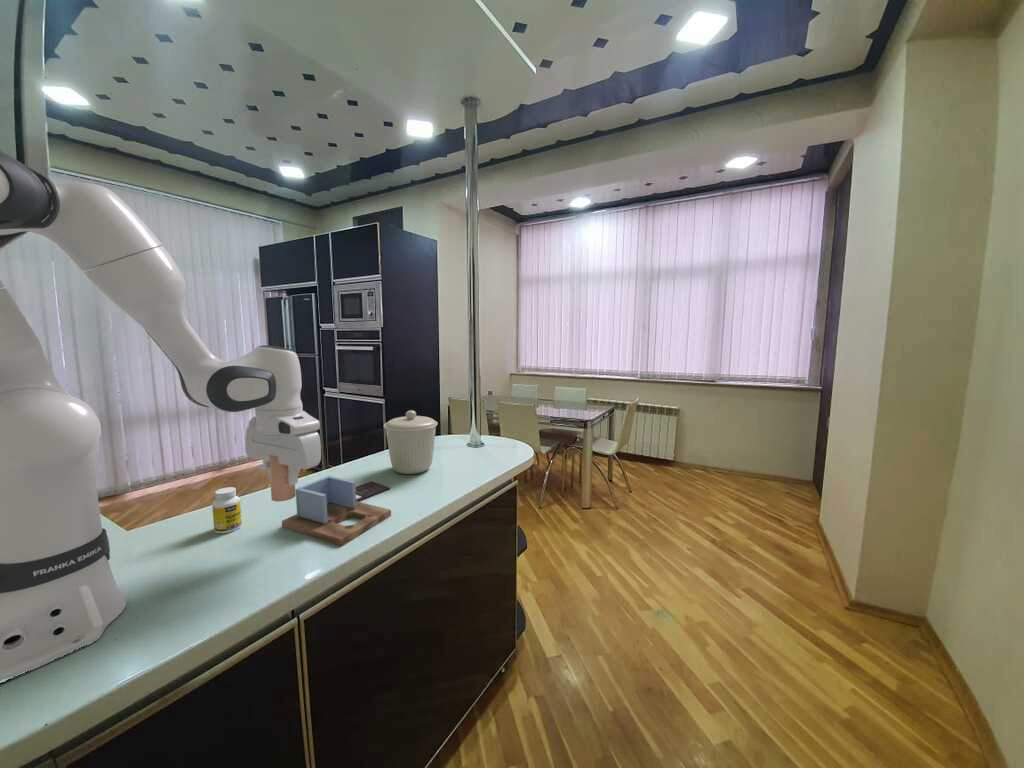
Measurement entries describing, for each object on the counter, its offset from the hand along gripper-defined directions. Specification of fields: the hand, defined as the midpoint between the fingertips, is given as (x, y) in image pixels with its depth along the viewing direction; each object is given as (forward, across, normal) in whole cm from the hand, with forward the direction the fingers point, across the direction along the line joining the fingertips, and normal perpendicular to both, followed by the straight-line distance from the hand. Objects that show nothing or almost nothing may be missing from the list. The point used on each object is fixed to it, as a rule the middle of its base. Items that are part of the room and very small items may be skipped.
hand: (282, 481), depth 85 cm
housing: (+13, -2, +13) cm, 18 cm away
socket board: (+14, +2, +13) cm, 19 cm away
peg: (+4, 0, 0) cm, 4 cm away
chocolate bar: (+15, -6, +26) cm, 30 cm away
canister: (+14, -5, +51) cm, 53 cm away
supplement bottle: (+15, -19, -1) cm, 24 cm away
